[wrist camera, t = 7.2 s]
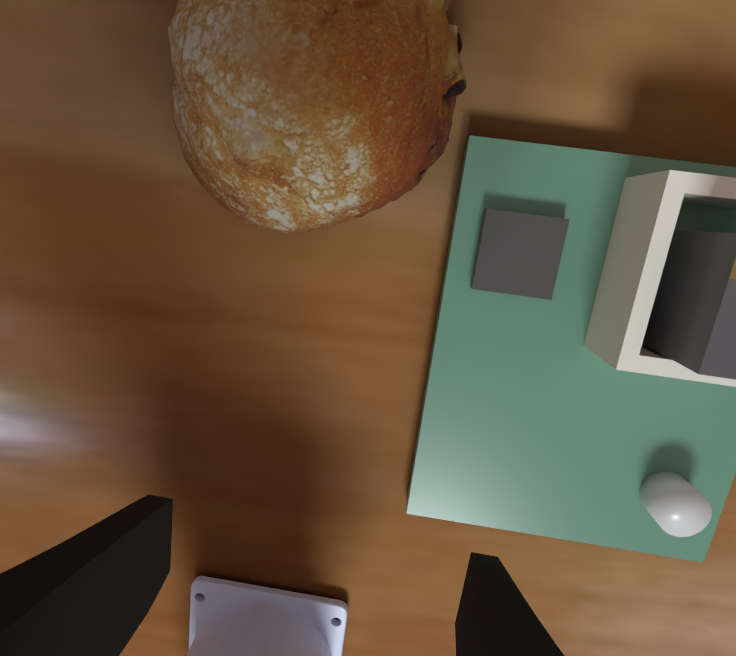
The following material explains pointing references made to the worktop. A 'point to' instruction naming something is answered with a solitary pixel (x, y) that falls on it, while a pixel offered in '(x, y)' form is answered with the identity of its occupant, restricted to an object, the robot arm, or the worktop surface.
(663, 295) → the plug
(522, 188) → the board
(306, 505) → the worktop surface
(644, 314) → the white rectangular frame
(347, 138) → the bread roll
